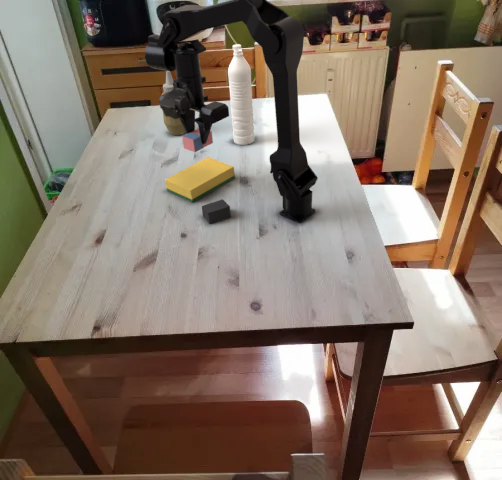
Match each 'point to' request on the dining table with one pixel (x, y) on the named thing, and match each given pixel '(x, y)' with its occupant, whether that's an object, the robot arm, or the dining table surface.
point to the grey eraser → (216, 211)
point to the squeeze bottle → (172, 124)
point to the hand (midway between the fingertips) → (198, 141)
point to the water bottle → (241, 98)
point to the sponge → (200, 179)
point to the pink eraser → (195, 141)
